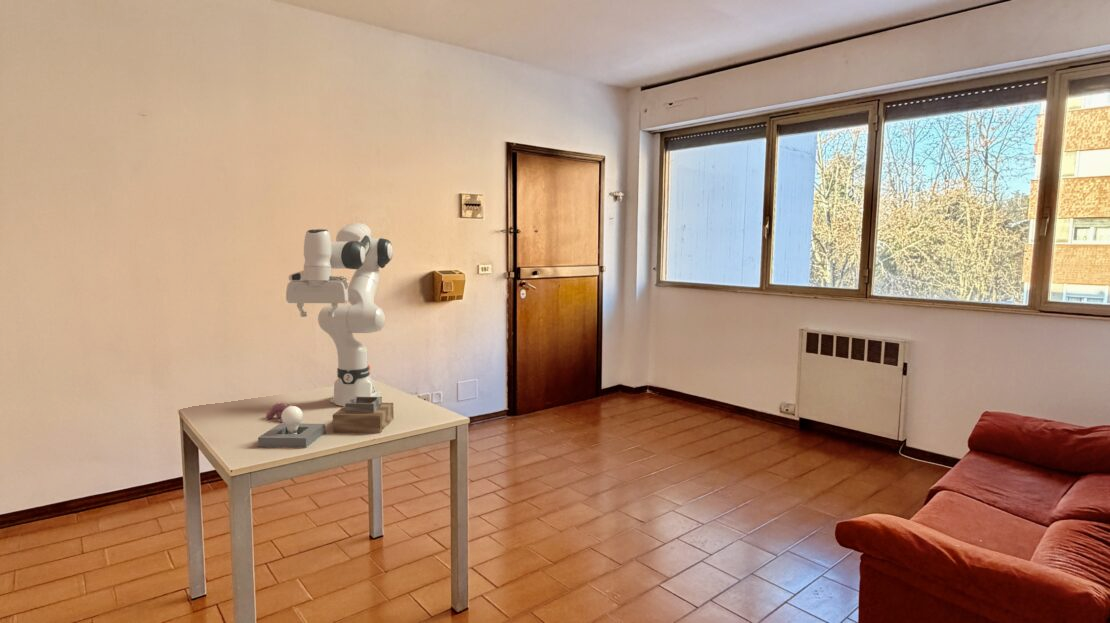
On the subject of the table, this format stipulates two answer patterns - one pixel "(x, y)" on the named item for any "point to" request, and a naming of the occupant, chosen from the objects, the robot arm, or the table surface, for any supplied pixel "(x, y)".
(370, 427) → the raised socket stand
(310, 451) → the table surface
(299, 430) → the low socket block
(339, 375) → the robot arm
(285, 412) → the lightbulb
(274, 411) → the video game controller
